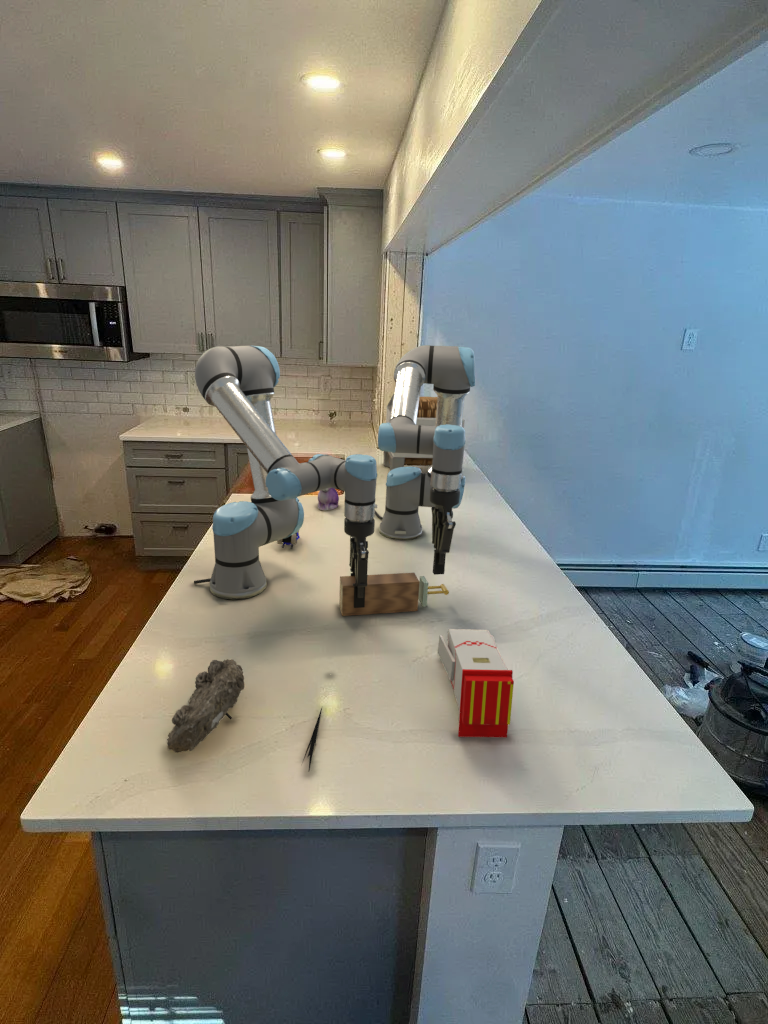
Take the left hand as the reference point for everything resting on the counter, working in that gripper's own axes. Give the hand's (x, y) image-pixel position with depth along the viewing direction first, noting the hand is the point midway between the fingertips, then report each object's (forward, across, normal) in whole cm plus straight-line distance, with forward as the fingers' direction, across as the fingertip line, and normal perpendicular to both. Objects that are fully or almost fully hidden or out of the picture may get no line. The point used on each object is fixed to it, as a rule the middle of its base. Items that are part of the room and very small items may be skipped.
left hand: (357, 600), depth 148 cm
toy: (+3, -37, -18) cm, 41 cm away
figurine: (+3, +81, -2) cm, 81 cm away
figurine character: (+3, +46, +15) cm, 49 cm away
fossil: (+3, -37, +34) cm, 50 cm away
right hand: (-7, 0, -22) cm, 23 cm away
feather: (+3, -40, +14) cm, 43 cm away
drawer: (+2, 0, -12) cm, 12 cm away
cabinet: (+3, 0, -6) cm, 6 cm away
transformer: (+3, +126, -51) cm, 136 cm away
